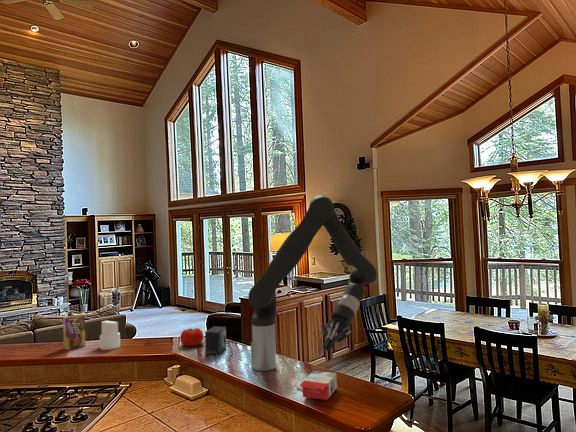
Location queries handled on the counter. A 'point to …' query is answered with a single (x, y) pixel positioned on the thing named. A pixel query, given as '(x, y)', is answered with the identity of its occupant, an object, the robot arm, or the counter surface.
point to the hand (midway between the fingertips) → (325, 350)
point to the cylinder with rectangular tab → (109, 335)
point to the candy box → (74, 331)
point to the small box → (215, 341)
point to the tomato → (191, 337)
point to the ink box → (319, 385)
